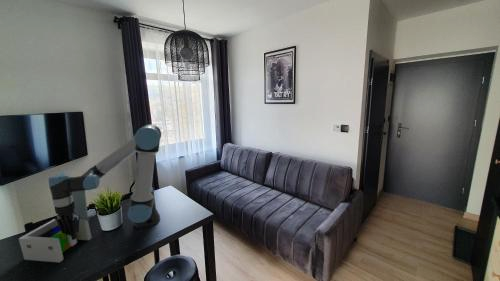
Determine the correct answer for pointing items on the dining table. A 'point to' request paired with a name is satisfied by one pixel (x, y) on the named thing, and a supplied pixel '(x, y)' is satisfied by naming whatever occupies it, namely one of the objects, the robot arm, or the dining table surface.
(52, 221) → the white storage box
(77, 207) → the lid
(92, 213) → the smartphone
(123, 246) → the dining table surface
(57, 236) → the puzzle toy
